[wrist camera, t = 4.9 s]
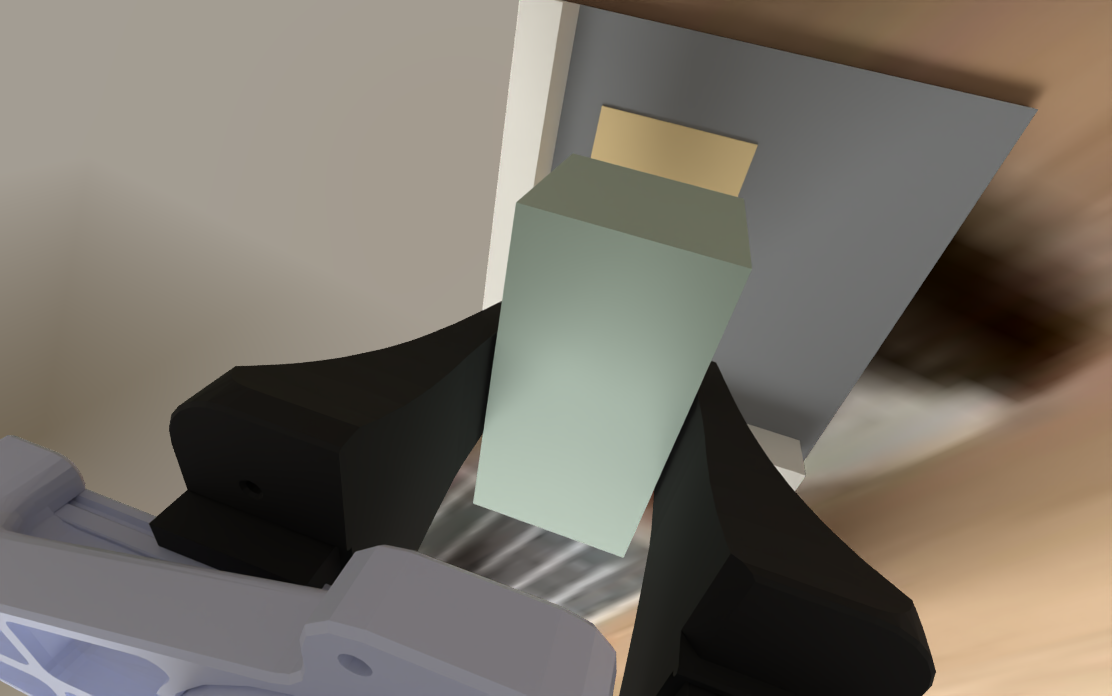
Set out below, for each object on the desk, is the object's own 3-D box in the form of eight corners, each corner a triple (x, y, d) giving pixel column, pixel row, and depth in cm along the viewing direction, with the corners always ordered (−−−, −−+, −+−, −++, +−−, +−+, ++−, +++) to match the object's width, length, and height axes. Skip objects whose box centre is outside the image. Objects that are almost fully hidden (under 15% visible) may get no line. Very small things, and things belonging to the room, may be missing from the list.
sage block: (744, 199, 11) (751, 268, 8) (643, 448, 16) (623, 557, 13) (572, 153, 12) (515, 202, 9) (522, 408, 16) (473, 503, 13)
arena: (799, 457, 22) (807, 501, 20) (494, 358, 24) (472, 389, 22) (1029, 107, 14) (1080, 120, 12) (546, -4, 16) (520, -8, 14)
